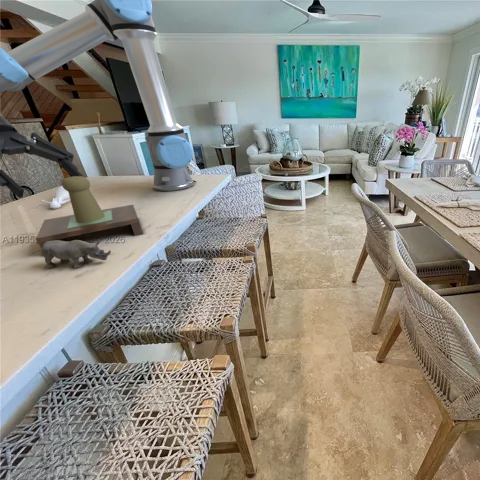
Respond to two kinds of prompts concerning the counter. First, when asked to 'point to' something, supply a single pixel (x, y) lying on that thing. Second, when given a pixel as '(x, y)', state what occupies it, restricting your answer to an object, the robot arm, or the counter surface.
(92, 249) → the rhino figurine
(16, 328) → the counter surface
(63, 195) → the woman figurine
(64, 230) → the shelf
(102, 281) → the counter surface
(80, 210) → the cork
